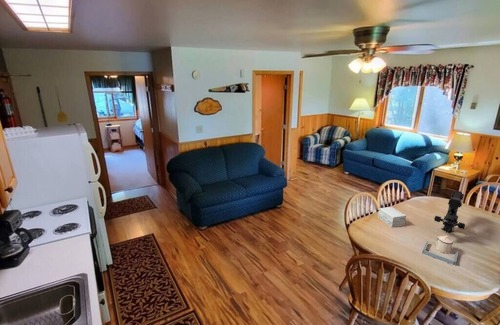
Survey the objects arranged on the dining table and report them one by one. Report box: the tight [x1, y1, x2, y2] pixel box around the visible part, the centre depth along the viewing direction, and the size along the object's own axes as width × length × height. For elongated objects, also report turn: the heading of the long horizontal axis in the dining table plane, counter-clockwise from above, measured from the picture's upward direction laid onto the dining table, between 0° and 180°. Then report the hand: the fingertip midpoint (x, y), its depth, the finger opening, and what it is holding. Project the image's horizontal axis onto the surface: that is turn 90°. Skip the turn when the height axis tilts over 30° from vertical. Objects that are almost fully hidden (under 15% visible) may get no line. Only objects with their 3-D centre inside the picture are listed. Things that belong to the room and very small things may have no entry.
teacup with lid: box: [435, 235, 454, 254], centre depth 194 cm, size 12×9×12 cm
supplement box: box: [377, 206, 407, 228], centre depth 231 cm, size 17×13×9 cm
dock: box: [421, 240, 459, 266], centre depth 190 cm, size 15×19×2 cm
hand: (446, 232), depth 201 cm, fingers closed
